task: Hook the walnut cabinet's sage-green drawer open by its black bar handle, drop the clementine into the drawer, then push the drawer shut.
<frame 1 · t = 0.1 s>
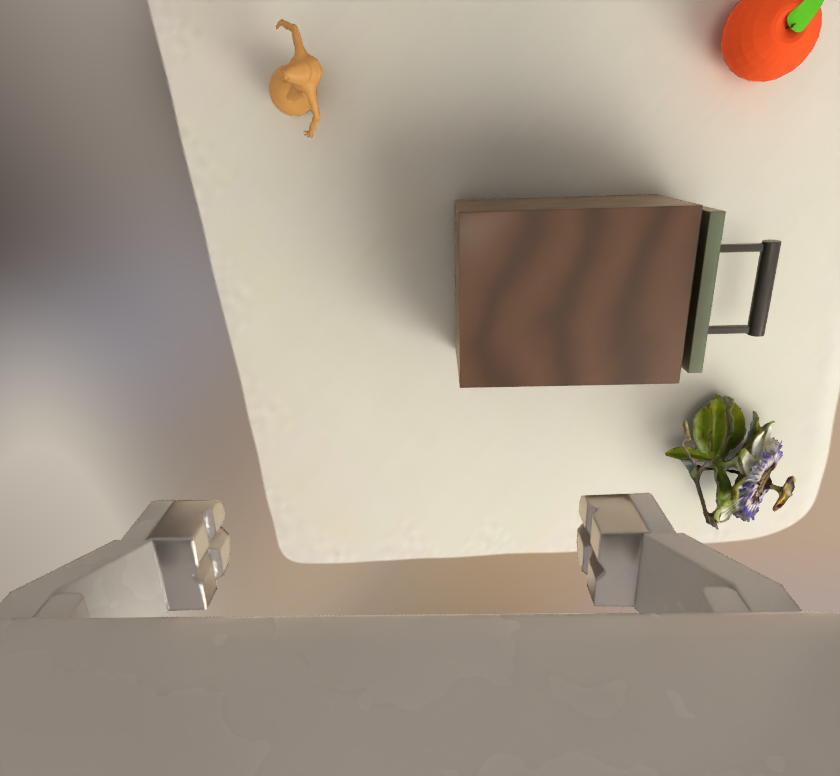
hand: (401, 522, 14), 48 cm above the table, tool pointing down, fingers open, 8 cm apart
clementine: (752, 34, 52), on the table
figurine: (309, 89, 54), on the table
passion flower: (710, 446, 66), on the table
drawer: (625, 286, 55), point 5 cm above the table, slide at 1.0 cm
cabinet: (551, 275, 60), on the table
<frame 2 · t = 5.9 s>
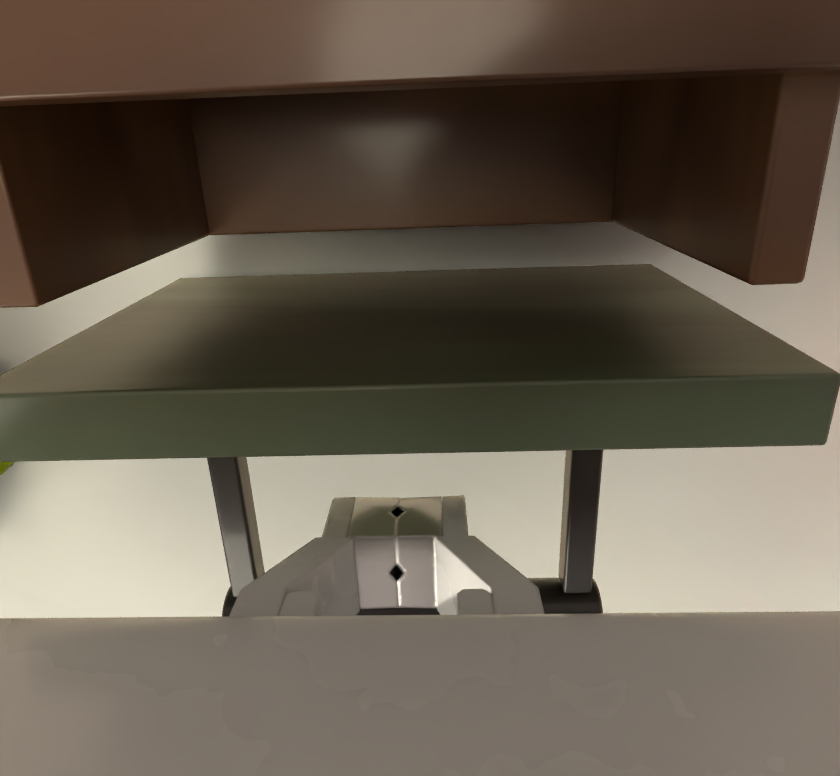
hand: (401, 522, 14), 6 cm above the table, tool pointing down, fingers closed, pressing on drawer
drawer: (393, 67, 12), point 5 cm above the table, slide at 4.0 cm, touching gripper
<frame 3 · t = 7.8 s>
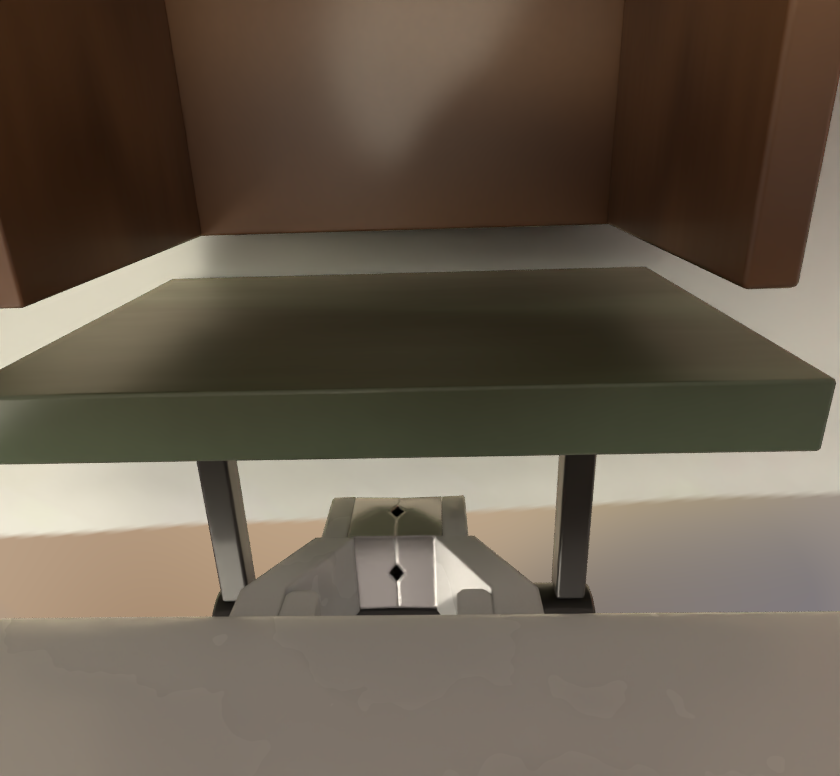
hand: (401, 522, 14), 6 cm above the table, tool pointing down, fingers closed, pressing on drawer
drawer: (385, 68, 12), point 5 cm above the table, slide at 11.7 cm, touching gripper
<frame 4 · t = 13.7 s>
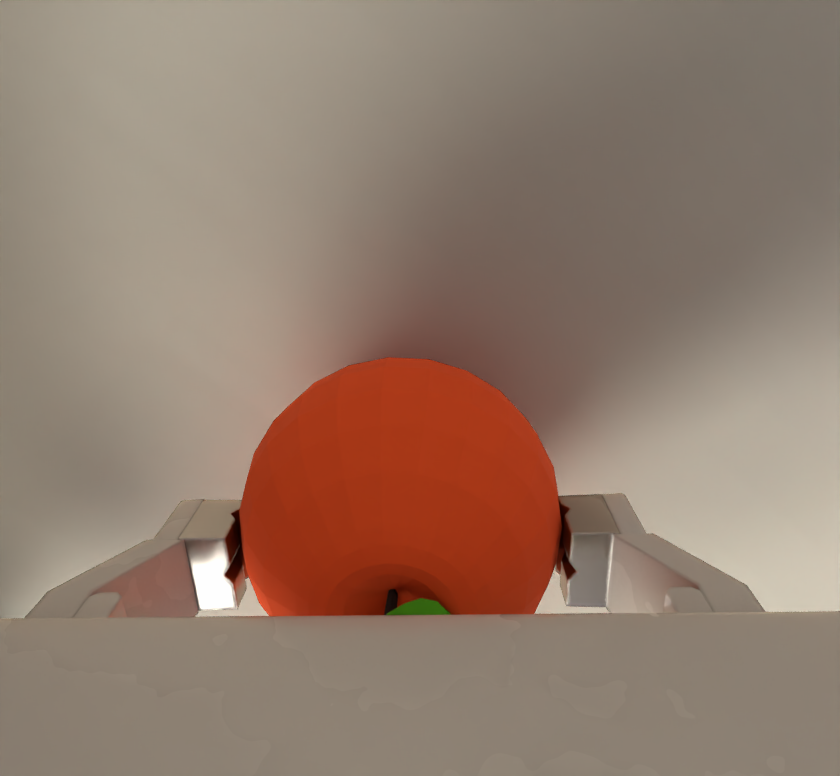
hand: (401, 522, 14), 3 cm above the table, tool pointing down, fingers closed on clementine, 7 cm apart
clementine: (423, 449, 17), on the table, touching gripper
when the fingers open (11 cm above the table, at t = 21.1 s): clementine drops 5 cm, resting on drawer.
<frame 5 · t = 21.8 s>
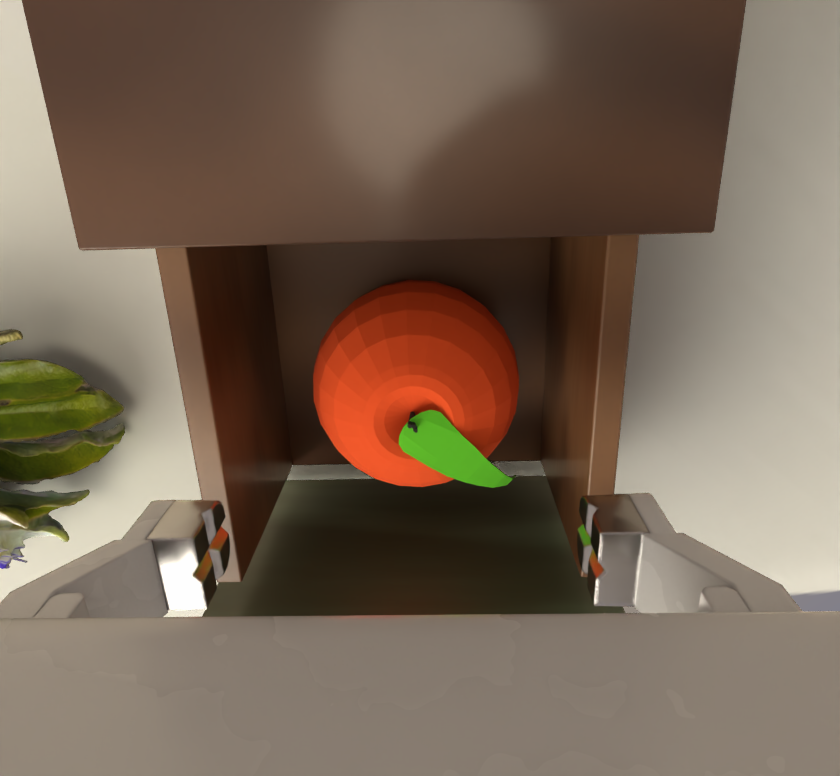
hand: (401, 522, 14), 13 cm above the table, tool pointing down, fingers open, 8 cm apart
clementine: (428, 358, 24), point 2 cm above the table, touching drawer
drawer: (410, 422, 22), point 5 cm above the table, slide at 11.7 cm, touching clementine
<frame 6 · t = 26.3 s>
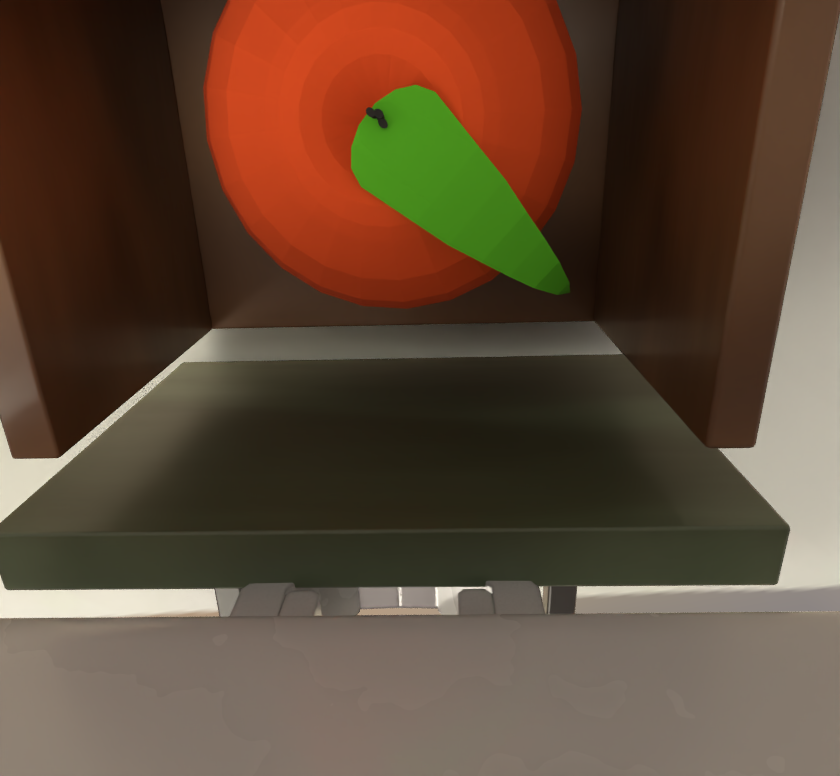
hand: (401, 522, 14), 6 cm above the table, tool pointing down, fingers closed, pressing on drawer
clementine: (420, 144, 15), point 2 cm above the table, touching drawer
drawer: (386, 209, 13), point 5 cm above the table, slide at 10.2 cm, touching clementine, gripper
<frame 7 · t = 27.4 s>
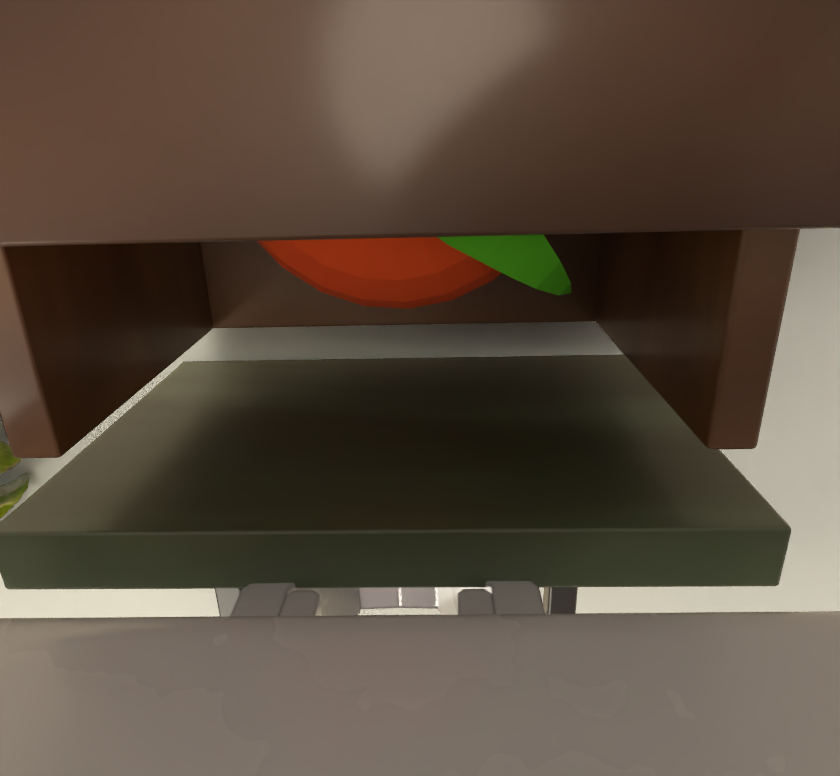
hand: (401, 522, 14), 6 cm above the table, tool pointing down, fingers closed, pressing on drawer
clementine: (421, 144, 15), point 2 cm above the table, touching drawer
drawer: (387, 208, 13), point 5 cm above the table, slide at 4.9 cm, touching clementine, gripper
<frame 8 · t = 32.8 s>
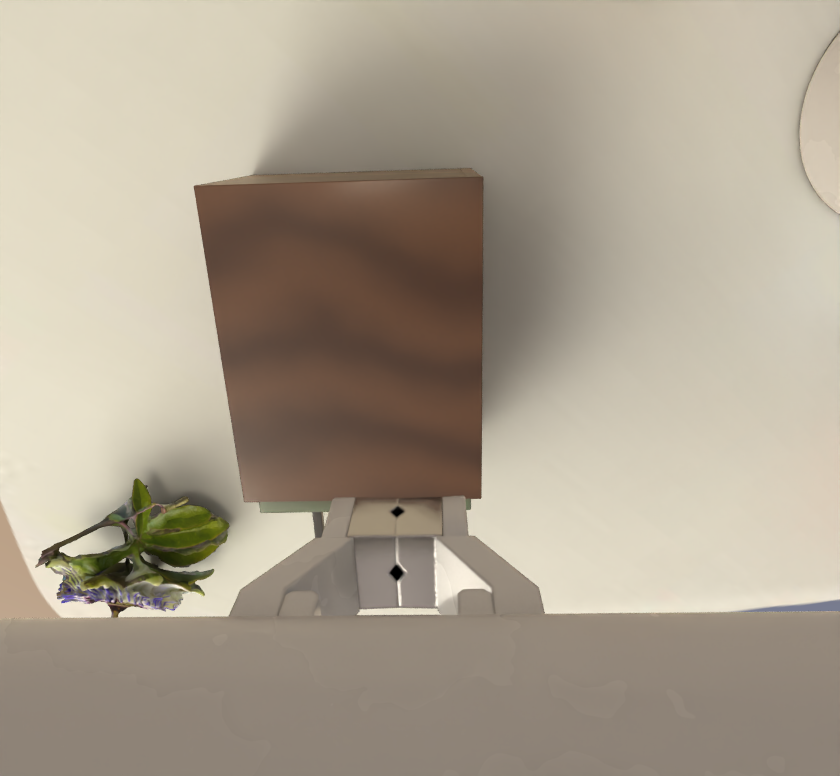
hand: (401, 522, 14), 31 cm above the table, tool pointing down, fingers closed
passion flower: (156, 523, 52), on the table
drawer: (366, 399, 41), point 5 cm above the table, slide at 0.2 cm, touching clementine
cabinet: (369, 309, 44), on the table
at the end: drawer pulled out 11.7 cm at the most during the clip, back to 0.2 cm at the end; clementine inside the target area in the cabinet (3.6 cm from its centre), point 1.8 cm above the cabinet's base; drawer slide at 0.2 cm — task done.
